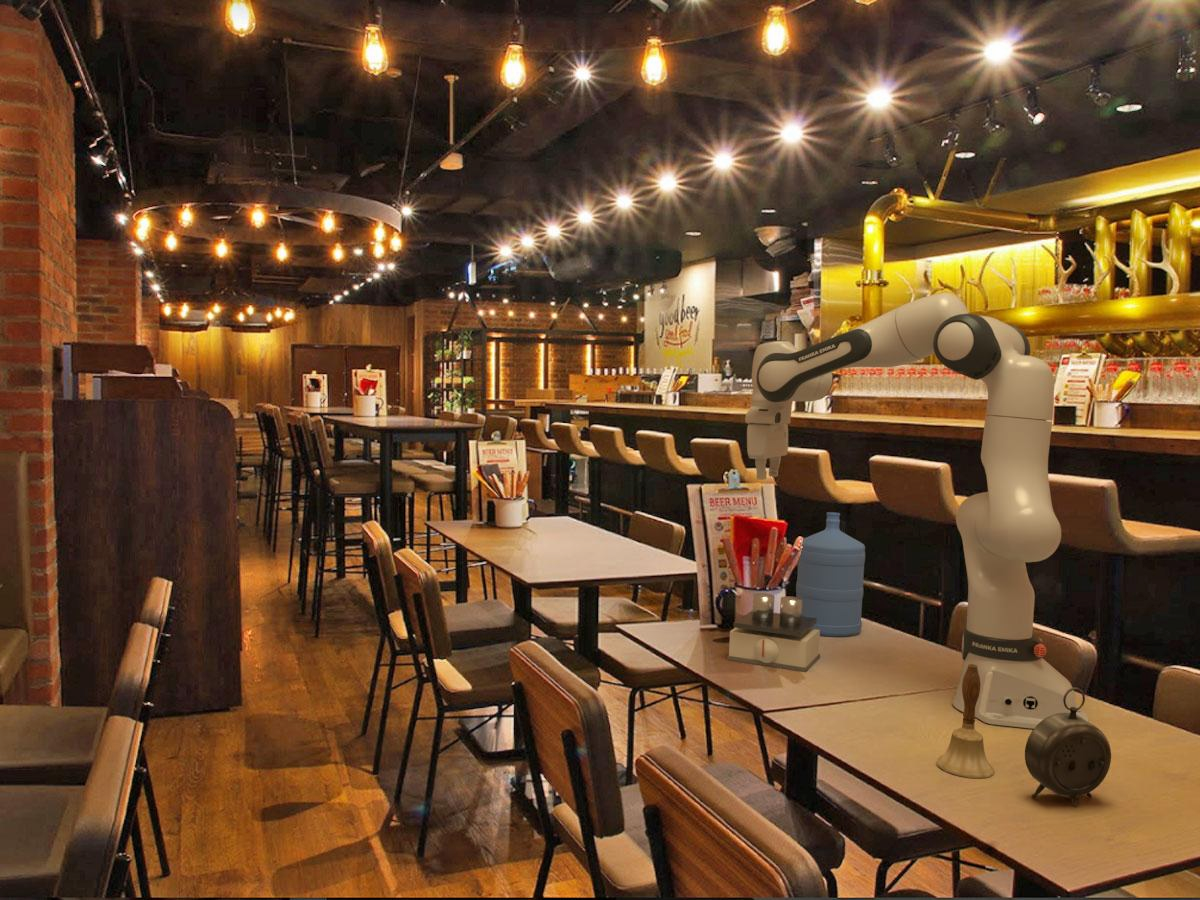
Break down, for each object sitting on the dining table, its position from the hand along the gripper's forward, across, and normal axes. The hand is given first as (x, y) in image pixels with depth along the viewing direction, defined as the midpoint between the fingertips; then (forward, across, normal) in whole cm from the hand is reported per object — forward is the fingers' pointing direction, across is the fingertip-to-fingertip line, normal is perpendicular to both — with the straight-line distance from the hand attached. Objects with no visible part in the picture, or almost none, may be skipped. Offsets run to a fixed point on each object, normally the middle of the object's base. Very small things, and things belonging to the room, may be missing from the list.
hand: (767, 478), depth 219 cm
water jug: (+37, -23, +10) cm, 45 cm away
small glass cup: (+29, +10, +3) cm, 31 cm away
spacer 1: (+29, +10, +9) cm, 32 cm away
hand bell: (+37, +55, +48) cm, 82 cm away
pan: (+31, +10, +6) cm, 33 cm away
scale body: (+37, +10, +6) cm, 39 cm away
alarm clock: (+37, +61, +62) cm, 95 cm away
